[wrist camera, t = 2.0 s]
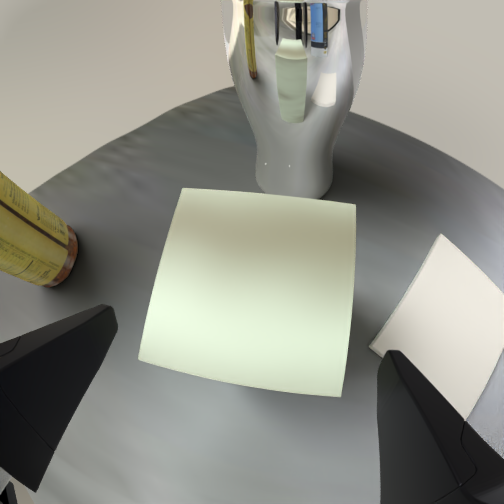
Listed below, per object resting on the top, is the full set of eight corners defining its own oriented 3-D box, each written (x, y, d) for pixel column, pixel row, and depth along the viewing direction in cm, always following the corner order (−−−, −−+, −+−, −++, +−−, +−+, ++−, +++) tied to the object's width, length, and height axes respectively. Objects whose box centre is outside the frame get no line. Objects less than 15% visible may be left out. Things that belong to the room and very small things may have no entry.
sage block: (307, 376, 16) (340, 397, 7) (212, 362, 17) (137, 359, 8) (319, 284, 18) (355, 204, 9) (229, 273, 19) (182, 188, 10)
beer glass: (254, 140, 23) (228, -27, 9) (335, 144, 22) (356, -23, 8) (244, 208, 21) (194, 5, 7) (340, 214, 20) (393, 11, 6)
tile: (511, 311, 15) (517, 309, 14) (458, 420, 13) (464, 422, 12) (436, 237, 18) (440, 233, 18) (368, 346, 16) (372, 346, 15)
